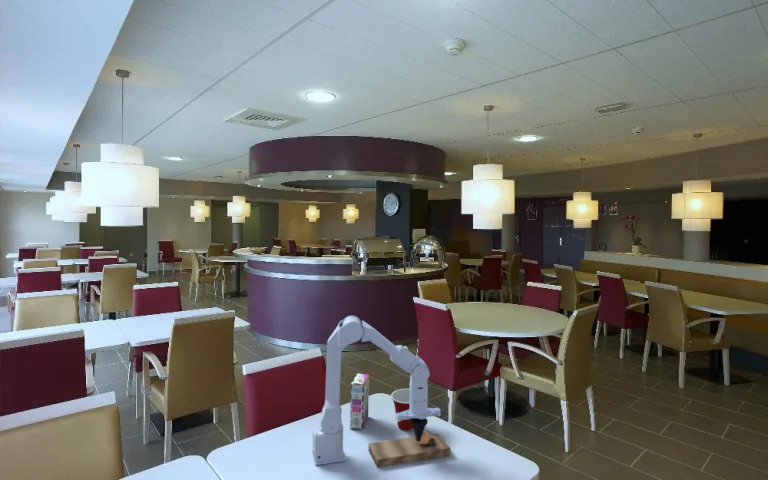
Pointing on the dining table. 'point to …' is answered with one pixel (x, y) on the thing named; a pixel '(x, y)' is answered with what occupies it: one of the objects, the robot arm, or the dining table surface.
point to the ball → (424, 438)
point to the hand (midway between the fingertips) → (418, 439)
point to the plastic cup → (402, 406)
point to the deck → (407, 450)
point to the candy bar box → (359, 401)
